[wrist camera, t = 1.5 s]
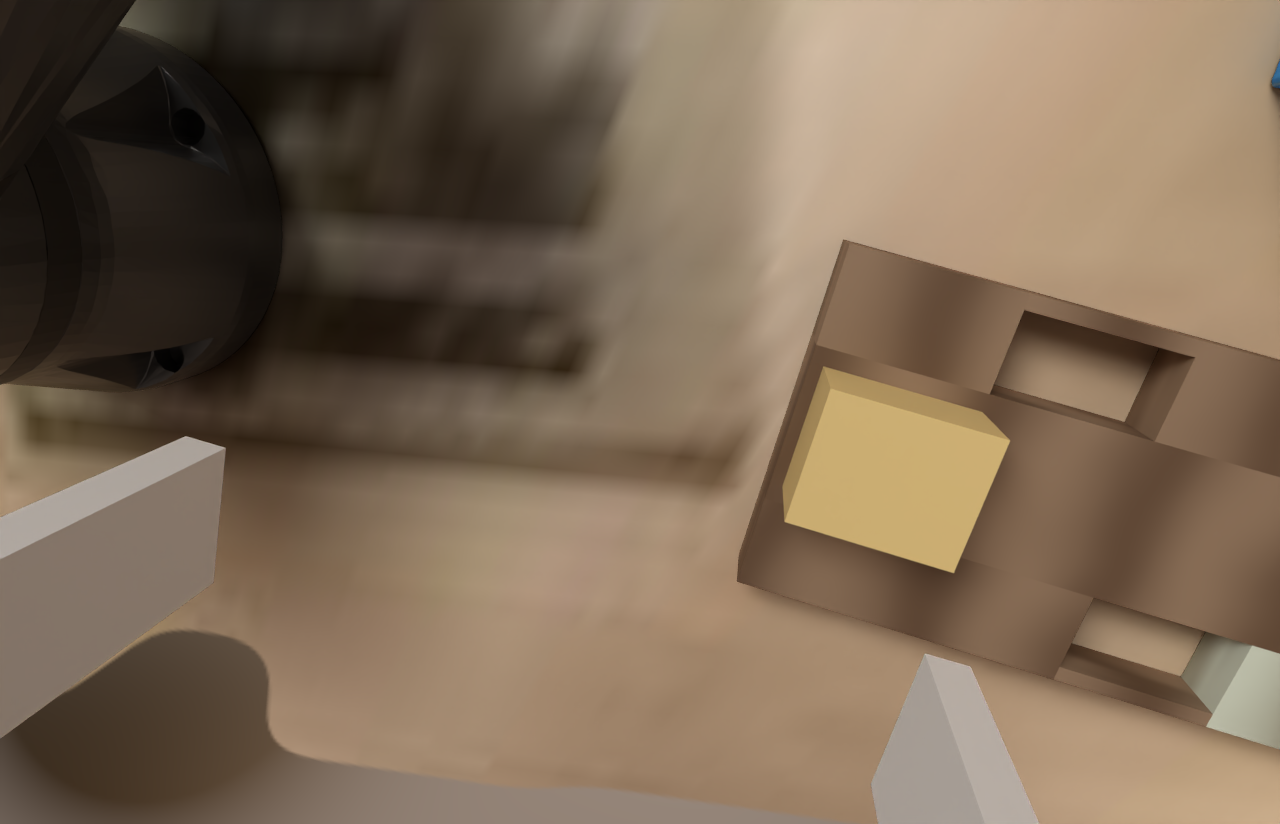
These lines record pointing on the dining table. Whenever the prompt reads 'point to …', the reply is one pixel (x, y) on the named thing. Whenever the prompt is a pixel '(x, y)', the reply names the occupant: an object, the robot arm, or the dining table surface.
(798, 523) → the ochre block
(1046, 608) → the board
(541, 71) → the dining table surface
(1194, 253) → the dining table surface
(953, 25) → the dining table surface
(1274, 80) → the ink box
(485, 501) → the dining table surface
